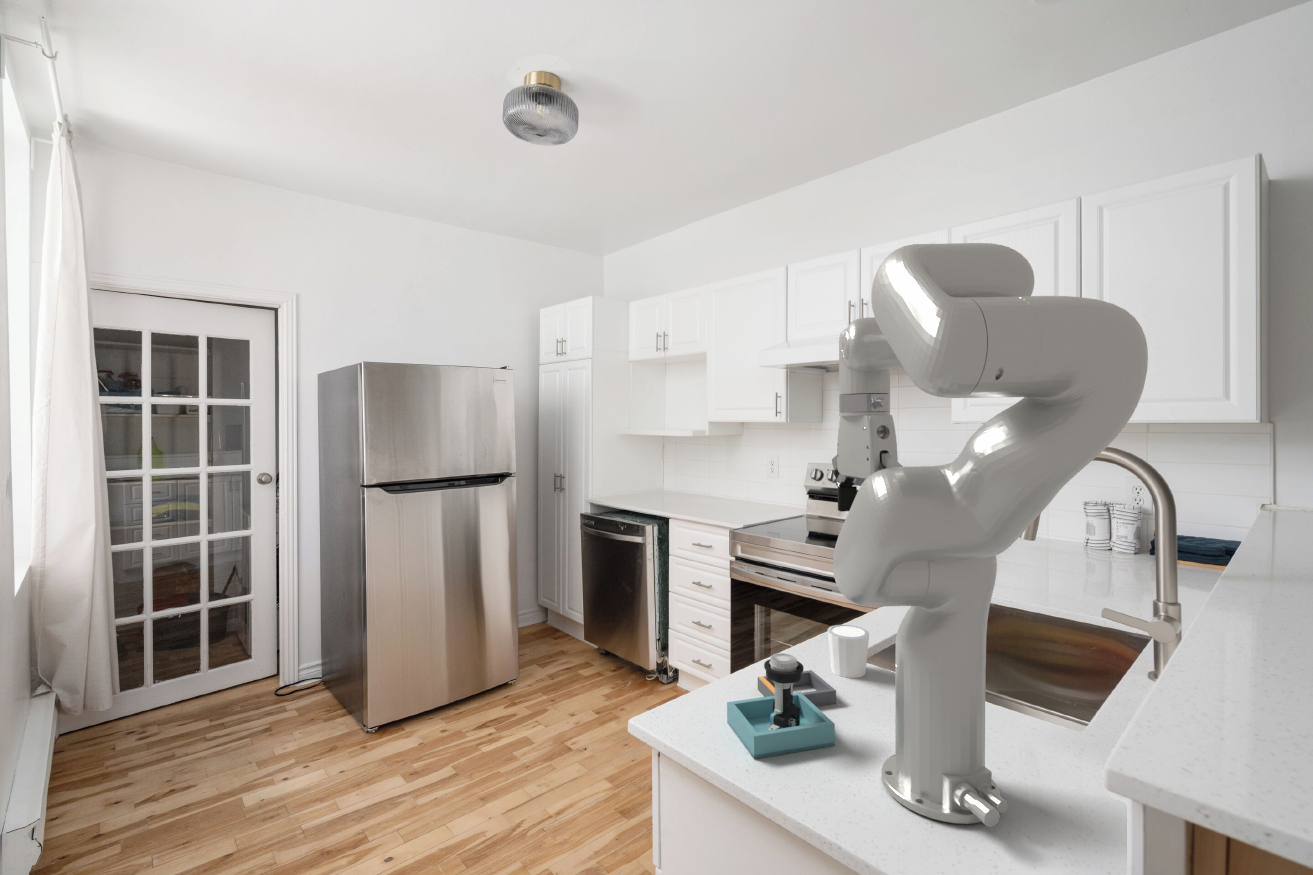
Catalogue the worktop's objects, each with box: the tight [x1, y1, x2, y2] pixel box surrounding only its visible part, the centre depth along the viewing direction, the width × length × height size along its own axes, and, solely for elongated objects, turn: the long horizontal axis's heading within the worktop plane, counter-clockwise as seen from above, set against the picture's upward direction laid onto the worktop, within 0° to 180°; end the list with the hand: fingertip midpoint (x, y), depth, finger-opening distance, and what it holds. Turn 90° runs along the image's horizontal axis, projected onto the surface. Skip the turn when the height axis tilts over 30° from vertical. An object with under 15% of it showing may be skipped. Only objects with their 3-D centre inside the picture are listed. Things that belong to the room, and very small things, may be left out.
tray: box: [726, 691, 836, 760], centre depth 84 cm, size 10×12×3 cm
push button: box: [763, 652, 804, 730], centre depth 83 cm, size 7×5×10 cm
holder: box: [757, 669, 837, 707], centre depth 95 cm, size 8×10×2 cm
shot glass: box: [827, 624, 870, 679], centre depth 104 cm, size 7×7×7 cm
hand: (864, 515), depth 94 cm, fingers open, 9 cm apart
